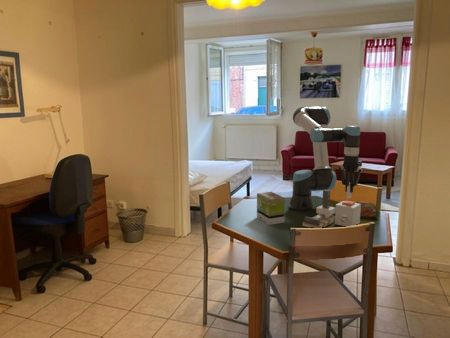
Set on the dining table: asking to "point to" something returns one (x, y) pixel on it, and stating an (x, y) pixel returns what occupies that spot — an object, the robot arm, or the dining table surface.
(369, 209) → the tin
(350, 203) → the button
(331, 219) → the rail board
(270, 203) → the tea box
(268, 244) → the dining table surface
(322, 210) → the grey white tall piece
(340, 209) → the cabinet
